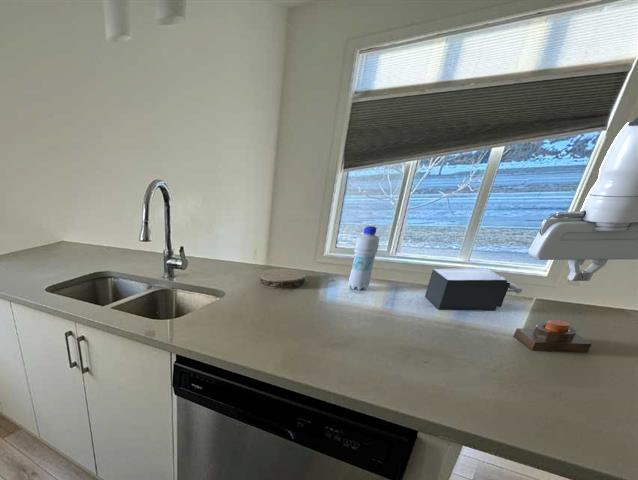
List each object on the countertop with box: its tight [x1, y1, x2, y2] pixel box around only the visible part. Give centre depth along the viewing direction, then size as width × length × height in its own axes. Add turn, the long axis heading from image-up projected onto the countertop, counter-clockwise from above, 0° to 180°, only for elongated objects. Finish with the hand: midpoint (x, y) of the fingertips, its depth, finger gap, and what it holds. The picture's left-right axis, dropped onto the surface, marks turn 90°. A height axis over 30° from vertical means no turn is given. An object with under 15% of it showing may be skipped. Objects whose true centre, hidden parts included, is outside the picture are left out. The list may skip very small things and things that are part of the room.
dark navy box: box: [424, 268, 508, 311], centre depth 116 cm, size 14×12×9 cm
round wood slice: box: [258, 268, 307, 290], centre depth 148 cm, size 16×16×3 cm
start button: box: [545, 319, 571, 332], centre depth 91 cm, size 4×4×2 cm
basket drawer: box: [497, 280, 523, 308], centre depth 115 cm, size 17×10×7 cm, turn 74°
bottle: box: [347, 225, 380, 291], centre depth 131 cm, size 7×7×20 cm
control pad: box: [513, 322, 592, 354], centre depth 92 cm, size 10×8×4 cm
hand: (578, 280), depth 86 cm, fingers closed
